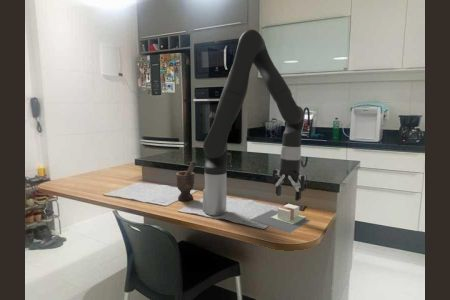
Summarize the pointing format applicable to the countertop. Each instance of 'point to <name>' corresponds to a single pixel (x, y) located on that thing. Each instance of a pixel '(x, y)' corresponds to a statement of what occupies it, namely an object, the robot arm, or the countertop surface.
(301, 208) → the chocolate bar
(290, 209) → the card box
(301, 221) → the mat
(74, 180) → the countertop surface
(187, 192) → the mortar and pestle
